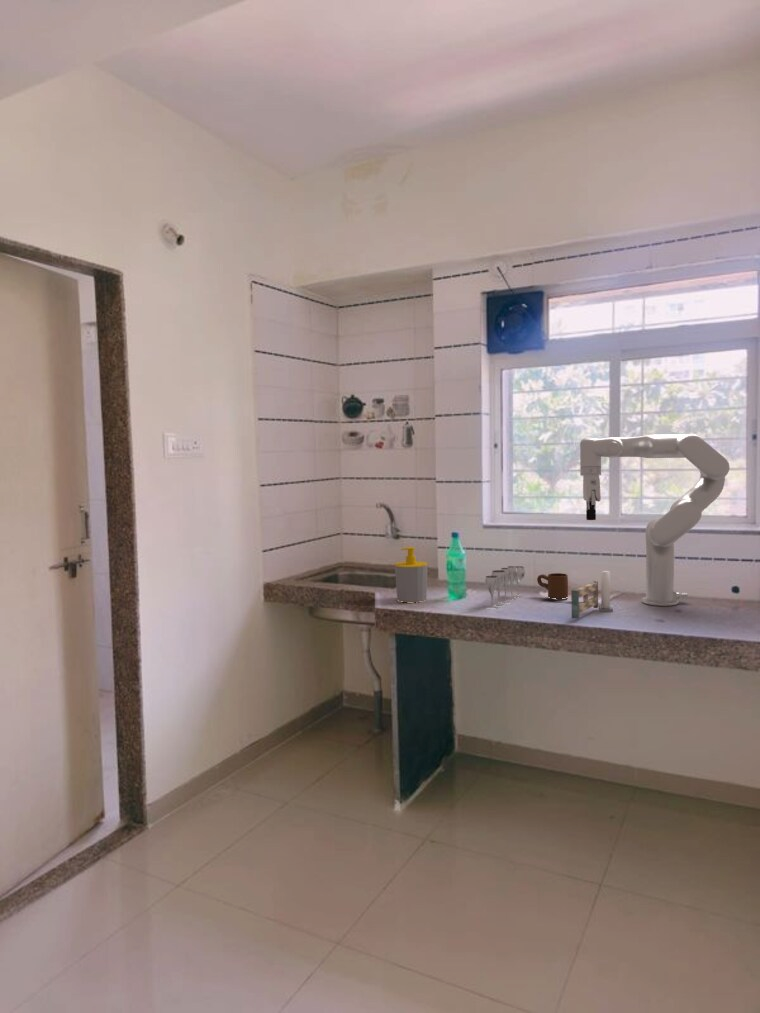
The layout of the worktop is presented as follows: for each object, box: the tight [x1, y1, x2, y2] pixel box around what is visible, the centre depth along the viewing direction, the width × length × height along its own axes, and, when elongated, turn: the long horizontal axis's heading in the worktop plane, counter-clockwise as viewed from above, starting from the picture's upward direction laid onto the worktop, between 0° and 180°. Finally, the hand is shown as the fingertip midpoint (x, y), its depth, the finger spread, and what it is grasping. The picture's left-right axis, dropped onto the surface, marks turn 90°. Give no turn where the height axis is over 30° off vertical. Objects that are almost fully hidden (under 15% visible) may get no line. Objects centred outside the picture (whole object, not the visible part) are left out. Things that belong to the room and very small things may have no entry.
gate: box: [570, 580, 599, 620], centre depth 239 cm, size 20×2×10 cm, turn 141°
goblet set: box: [484, 565, 526, 608], centre depth 263 cm, size 28×6×13 cm, turn 144°
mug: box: [536, 572, 569, 599], centre depth 268 cm, size 12×8×9 cm, turn 60°
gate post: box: [598, 570, 614, 613], centre depth 245 cm, size 4×5×14 cm
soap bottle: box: [394, 546, 428, 602], centre depth 271 cm, size 13×13×21 cm
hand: (591, 519), depth 259 cm, fingers closed
